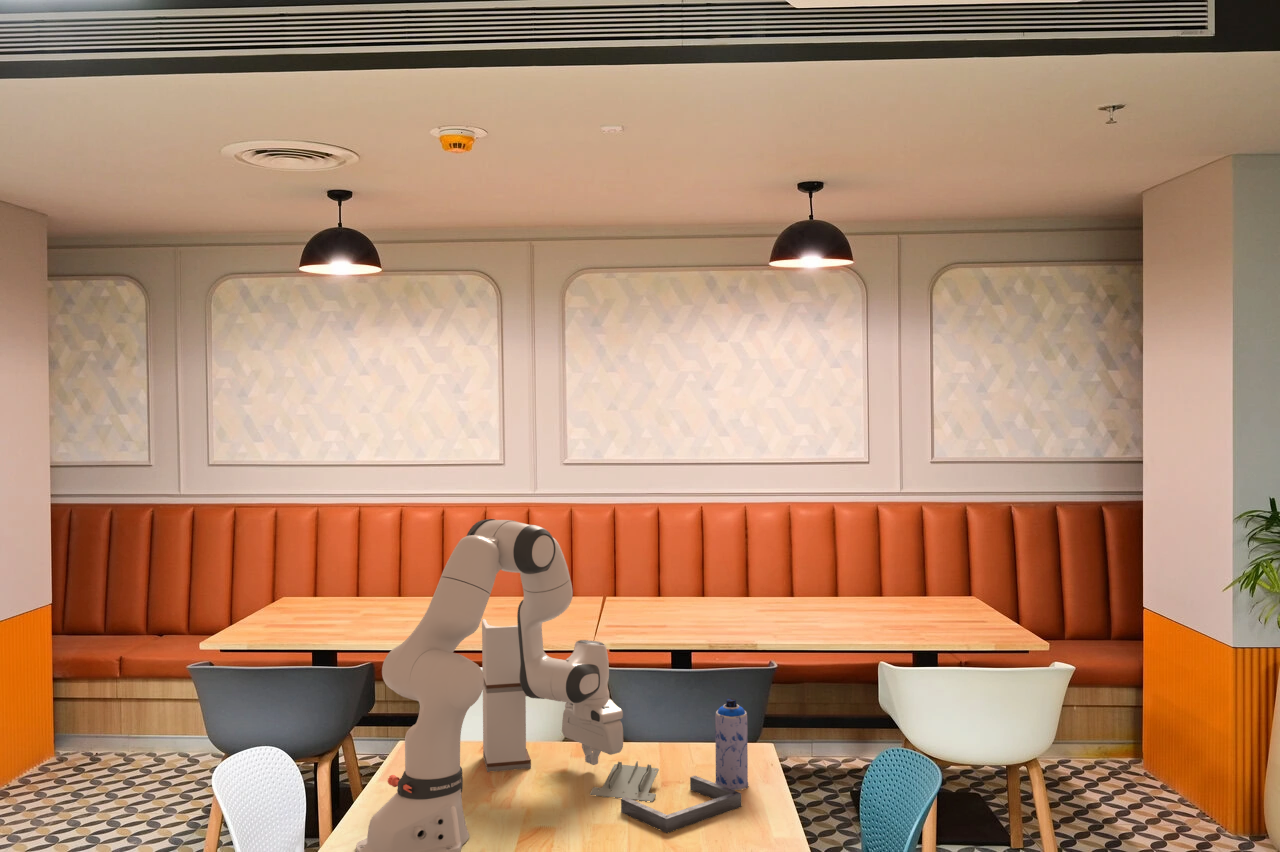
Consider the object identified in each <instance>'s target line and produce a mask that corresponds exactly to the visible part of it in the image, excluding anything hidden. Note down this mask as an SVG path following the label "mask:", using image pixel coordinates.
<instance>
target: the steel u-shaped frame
mask: <svg viewBox="0 0 1280 852" xmlns="http://www.w3.org/2000/svg"><path fill="white" fill-rule="evenodd" d="M689 779H690V780H689V781H690V783H689V784H690V786H689V789H690V791H692V792H694V793H697V794H699V793H700V795H702V796H705V797H707V798H709V797H710V799H711V800H707V801H704V802H702V803H698V804H696V805H693V806H690V807H687V808H684V809H681V810H677V811H675V812H672V813H668V814H666V813H663V812H661V811H659V810H656V809H655V808H652V807H650V806H647V805H645V804H643V803H642V802H641V803H640V801H636V800H632V799H630V798H627V797H625V798H622V799H620V813H621V814H623V815H626V816H628V817H630V818H632V819H634V820H636V819H637V820H636V821H639V822H641V823H643V824H646V825H647V826H649V827H651V828H654V827H655V829H656V828H657V829H656V830H658V829H660V830H661V832H662V833H665V832H666V834H669V833H671V831H672V832H674V831H677V830H676V829H678V830H681V829H682V828H685V827H688V826H691V825H694V824H698V823H700V822H702V821H703V822H704V821H705V820H708V819H711V818H714V817H717V816H719V815H723V814H725V813H728V812H730V811H733V810H736V809H739V807H740V808H742V807H743V806H742V804H743V803H742V793H741V792H739V791H734V790H731V789H729V788H726V787H724V786H721V785H718V784H716V783H715V782H712V781H710V780H708V779H705V778H704V777H703V778H702V777H700V776H697V775H692V776H690V777H689ZM660 830H659V831H660ZM673 830H674V831H673ZM668 832H669V833H668Z"/></svg>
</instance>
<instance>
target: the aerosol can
mask: <svg viewBox="0 0 1280 852" xmlns="http://www.w3.org/2000/svg"><path fill="white" fill-rule="evenodd" d="M714 717H715V719H714V720H715V723H714V724H715V732H714V733H715V782H714V783H716V784H718V785H721V786H724V787H726V788H729V789H731V790H734V791H735V790H740V791H743V790H742V789H744V790H745V788H746V789H748V788H749V786H748V785H750V784H749V782H748V780H749V779H748V778H749V775H748V773H749V772H748V770H749V769H748V768H749V767H748V765H749V764H748V761H749V760H748V750H749V749H748V712H747V711H746V710H745V709H744V708H743V707H742V706H740V705H739V704H738V703H737V699H735V698H727V699H726V703H725V704H723V705H722V706H720V707H719V708H718V709H717V710H716V711H715V716H714Z"/></svg>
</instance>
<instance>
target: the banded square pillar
mask: <svg viewBox="0 0 1280 852" xmlns="http://www.w3.org/2000/svg"><path fill="white" fill-rule="evenodd" d="M481 635H482V636H481V642H482V643H481V644H482V645H481V646H482V647H481V651H482V652H481V653H482V657H481V661H482V663H481V664H482V668H481V670H482V673H483V677H484V685H483V690H482V741H483V744H482V746H483V748H482V752H483V753H482V754H483V755H482V757H484V758H483V762H484V764H485V768H486V772H487V773H491V772H490V771H494V772H503V771H504V772H505V771H515V770H514V769H517V770H526V769H529V770H530V769H531V768H532V760H531V757H530V755H529V752H528V749H527V724H526V723H527V722H526V721H527V719H526V717H527V715H526V714H527V711H526V709H527V707H526V706H527V705H526V701H527V700H526V697H528V696H527V695H526V694H525V693H524V691H523V689H522V687H521V684H520V665H521V660H520V648H519V636H518V624H517V625H509V626H507V625H506V626H497V625H491V624H488V622H487V619H486V618H484V619H481Z"/></svg>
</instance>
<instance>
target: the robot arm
mask: <svg viewBox="0 0 1280 852" xmlns="http://www.w3.org/2000/svg"><path fill="white" fill-rule="evenodd" d="M500 571H503V572H507V573H519V574H520V575H519V576H520V581H521V585H522V591H523V599H522V600H521V601H520V603H519V604H518V607H517V616H516V617H517V625H518V636H519V648H520V660H521V665H520V684H521V687H522V689H523V691H524V693H525V694H526V695H527V696H526V697H528V698H531V699H538V700H539V699H540V700H550V701H555V702H562V703H565V705H564V710H563V713H562V723H561V733H562V735H563V736H564V738H567V739H569V740H571V741H575V742H577V743H579V744H581V748H582V751H583V754H584V758H585V759H584V760H585V763H587V764H590V765H592V766H596V765H598V764H599V757H600V755H601V753H604V754H607V755H609V756H610V755H611V756H612V755H615V754H619V753H620V752H621V751H622V750H623V748H624V728H623V726H624V725H623V723H622V721H621V719H623V717H624V712H623V710H622V708H621V707H619V706H618V705H617V704H616V703H615V702H614V701H613V700H612V699H611V698H610V691H609V686H608V683H609V677H610V667H609V665H610V662H609V655H608V654H609V653H608V649H607V646H606V645H605V644H604V643H603V642H601V641H596V640H589V639H588V640H587V639H580V640H576V641H575V642H574V647H573V651H572V653H571V655H570V656H568V657H567V658H566V659H560V658H554V657H551V656H549V655H547V653H546V652H545V651H544V641H543V627H542V626H543V623H545V622H549V621H552V620H553V619H556V618H557V617H559V616H560V615H562V614H563V613H564V612H566V611H567V609H568V608H569V607H570V605H571V603H572V601H573V585H572V584H573V583H572V580H571V576H570V571H569V566H568V564H567V561H566V558H565V555H564V553H563V551H562V547H561V546H560V544H559V542H558V541H557V539H556V538H554V537H553V535H552V534H551V533H550V532H549V530H547V529H546V528H544V527H542V526H539V525H537V524H527V523H524V522H519V521H517V520H511V519H494V518H488V519H482V520H478V521H477V522H476V523H474V524H473V525H472V526H471V527H470V529H469V530H468V532H467V534H466V536H464V537H462V538H461V539H460V540H459V541H458V543H457V544H456V546H455V547H454V549H453V550H452V552H451V554H450V556H449V558H448V560H447V562H446V564H445V566H444V568H443V570H442V573H441V576H440V578H439V581H438V583H437V585H436V589H435V591H434V594H433V596H432V598H431V600H430V603H429V605H428V608H427V610H426V612H425V613H424V615H423V617H422V619H421V620H420V622H419V623H418V625H417V626H416V627H415V629H414V630H413V631H412V632H411V634H410V635H409V636H408V637H407V638H406V639H405V640H404V641H403V642H402V643H400V644H399V645H397V646H396V647H394V648H392V649H391V650H390V651H389V652H388V653H387V655H386V657H385V658H384V659H383V663H382V668H381V675H382V680H383V682H384V683H385V686H387V688H389V689H390V690H392V691H393V692H394V693H396V694H398V695H399V696H400V697H402V698H406V699H410V700H412V701H416V702H418V704H419V713H418V717H417V719H416V722H415V724H413V725H412V726H411V727H410V728H408V730H407V731H406V733H405V737H404V757H405V758H404V763H405V764H404V766H405V768H404V771H403V772H402V773H403V774H402V775H401V777H398V776H396V775H395V774H391V775H389V776H388V777H389V778H388V777H387V784H388V785H389V786H391V787H393V788H397V789H396V791H397V792H395V794H394V795H393V796H391V798H390V799H389V800H388V801H387V802H386V803H385V804H384V805H382V807H381V808H380V809H378V811H376V813H374V814H373V815H372V817H371V819H370V820H369V825H368V829H367V835H366V836H367V838H364V839H362V840H359V841H358V842H356V847H355V852H461V851H462V847H463V846H464V844H465V843H466V842H467V841H468V840H469V837H470V834H469V831H468V826H467V824H466V819H465V814H464V809H463V808H464V807H463V800H462V797H463V796H462V793H463V786H464V782H463V768H462V766H461V738H462V737H461V735H462V729H463V724H464V721H465V718H466V714H467V712H468V710H469V709H470V708H471V707H472V706H474V704H475V703H477V701H478V700H479V698H480V697H481V695H482V694H483V685H484V677H483V670H482V668H481V667H480V666H479V664H477V663H476V662H474V660H471V659H470V658H468V657H466V656H464V655H463V654H460V653H456V652H455V650H456V649H457V648H458V647H459V645H460V643H462V641H463V640H465V639H466V638H468V637H469V636H471V635H474V633H476V631H478V628H479V627H480V624H481V623H482V618H483V616H484V613H485V610H486V607H487V605H488V602H489V599H490V596H491V594H492V591H493V588H494V584H495V581H496V577H497V574H498V573H499V572H500Z"/></svg>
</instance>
